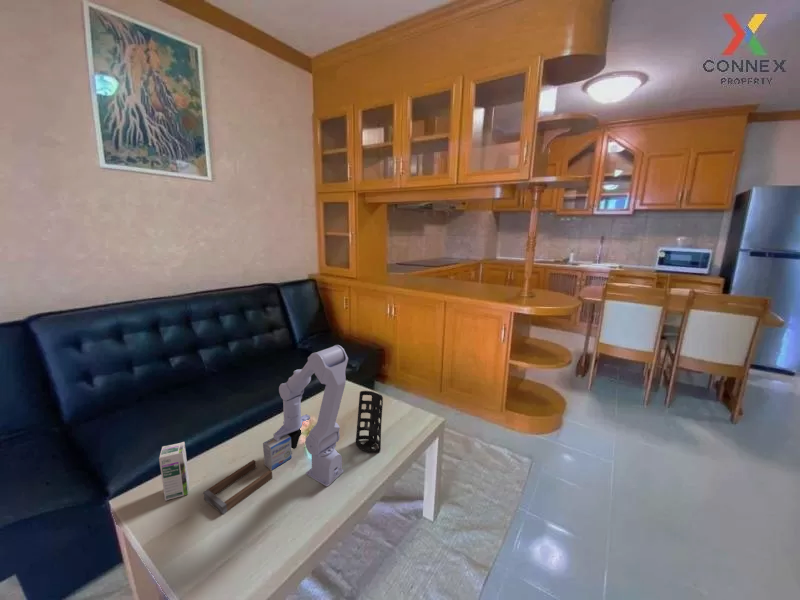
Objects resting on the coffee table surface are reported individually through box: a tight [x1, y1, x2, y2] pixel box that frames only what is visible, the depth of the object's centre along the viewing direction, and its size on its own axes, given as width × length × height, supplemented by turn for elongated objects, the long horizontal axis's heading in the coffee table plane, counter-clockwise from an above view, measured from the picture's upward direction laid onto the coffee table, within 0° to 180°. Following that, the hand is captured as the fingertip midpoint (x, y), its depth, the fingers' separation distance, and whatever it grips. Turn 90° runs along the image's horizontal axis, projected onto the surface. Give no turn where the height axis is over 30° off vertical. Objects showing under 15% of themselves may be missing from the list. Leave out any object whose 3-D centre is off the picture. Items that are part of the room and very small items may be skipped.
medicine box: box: [262, 434, 293, 471], centre depth 112 cm, size 8×4×9 cm, turn 143°
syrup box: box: [158, 441, 190, 502], centre depth 97 cm, size 6×6×14 cm
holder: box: [355, 390, 384, 454], centre depth 121 cm, size 11×8×20 cm
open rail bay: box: [203, 459, 273, 515], centre depth 100 cm, size 9×16×2 cm, turn 148°
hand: (293, 447), depth 118 cm, fingers closed
